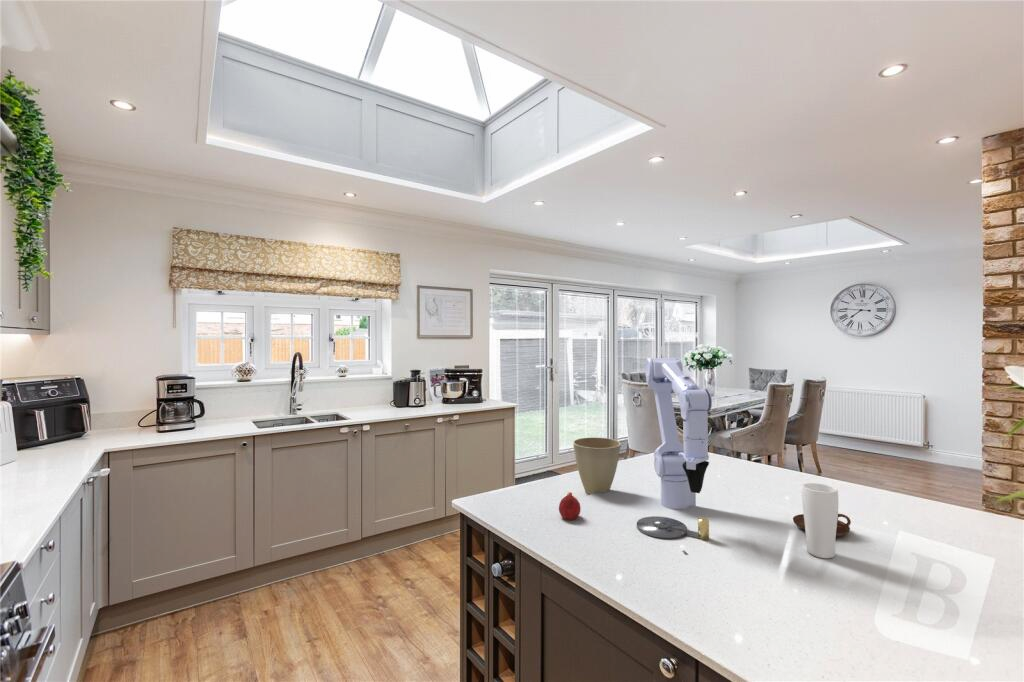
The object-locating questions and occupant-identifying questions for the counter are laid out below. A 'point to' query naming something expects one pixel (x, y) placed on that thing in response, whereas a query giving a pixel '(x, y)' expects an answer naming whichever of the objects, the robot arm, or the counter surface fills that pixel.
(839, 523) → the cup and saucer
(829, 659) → the counter surface
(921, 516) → the counter surface
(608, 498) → the counter surface
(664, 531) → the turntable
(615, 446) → the plant pot
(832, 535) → the drinking glass
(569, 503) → the onion
